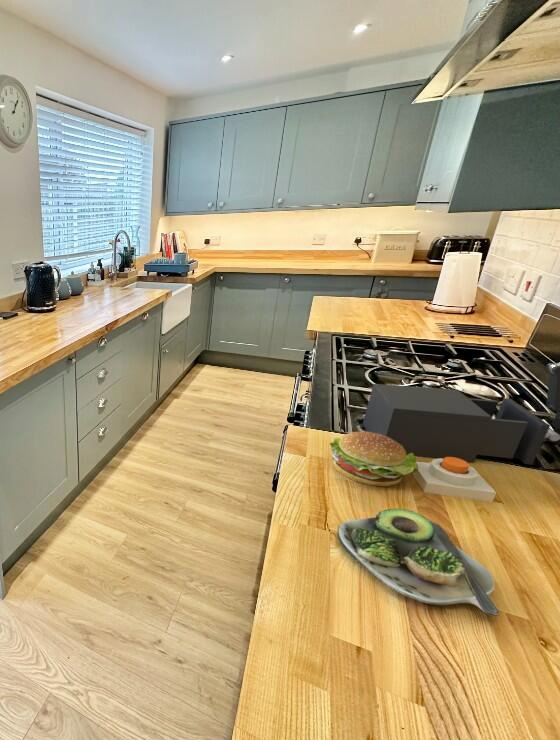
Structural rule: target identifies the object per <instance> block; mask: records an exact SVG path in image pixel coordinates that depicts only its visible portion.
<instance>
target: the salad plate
mask: <svg viewBox="0 0 560 740" xmlns="http://www.w3.org/2000/svg"><path fill="white" fill-rule="evenodd" d="M337 538H338V540H339V543H340V544H341V546H342V547H343V548H344V550H345V551H346V552H347V553H348V555H350V556H351V557H352V558H353V559H355V560H357V561H358V562H359V563H360V564H361V565H362V566H363V567H364V568H365V569H366V570H368V572H369V573H371V574H372V575H373V576H374V577H377V579H378V580H380V581H382V582H383V583H384V584H385V585H386V586H388V587H389V588H391V590H393V591H395V592H397V593H399V594H401V595H403V596H405V597H407V598H409V599H412V600H415V601H417V602H420V603H424V604H426V605H432V606H439V607H441V606H448V605H449V606H450V605H455V604H470V605H474V606H476V607H477V608H479V609H480V610H481V611H482V612H484V613H486V614H487V615H491V616H495V617H498V616H499V614H500V612H499V610H498V608H497V607H496V605H495V604H494V602H493V601H492V600H491V597H489V596H490V595H491V594H493V592H494V591H495V580H494V577H493V575H492V573H491V571H489V570H488V569H487V568H486V567H485V566H484V565H483V564H481V563H480V562H479V561H477V560H476V559H475V558H473V557H471V556H470V555H468V554H467V553H466V552H465V551H463V550H462V549H460V548H459V547H458V546H456V545H455V544H454V543H453V542H452V540H451V539H450V535H448V533H447V532H446V530H445V529H443V527H441V526H440V524H438V523H436V522H434V521H432V520H429V519H428V518H427V517H426V516H424V515H422V514H420V513H418V512H416V511H413V510H410V509H409V510H408V509H406V508H405V509H404V508H388V509H384V510H380V511H379V512H378V513H377V514H375V517H368V518H359V519H349V520H345V521H343V522H341V523H340V524H339V526H338V527H337ZM433 604H434V605H433Z"/></svg>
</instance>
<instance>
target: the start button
mask: <svg viewBox="0 0 560 740" xmlns="http://www.w3.org/2000/svg"><path fill="white" fill-rule="evenodd" d="M469 466H470V463H467V462H466V461H464V460H462V459H459V458H455V457H445V458H444V459H443V462H442V464H441V467H442V468H443V469H445V470H447V471H449V472H452V473H456V474H466V473H467V470H468V468H469Z"/></svg>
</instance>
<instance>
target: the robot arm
mask: <svg viewBox="0 0 560 740" xmlns="http://www.w3.org/2000/svg"><path fill="white" fill-rule="evenodd" d="M545 368H546V370H547V372H548V374H549V376H548V388H547V395H546V396H547V397H546V406H547V408H549V409H551V410H552V411H554V412H556V414H555V416H554V418H553V420H552V421H551V426H552V427H554V428H553V429H552V430H553V431H554V432H556V433H557V434H559V435H560V362H558V363H553V362H549V363H547V364H546V365H545ZM552 442H553V443H555V444H556V445H557V446H560V439H559V440H557V441H552Z"/></svg>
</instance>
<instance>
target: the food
mask: <svg viewBox="0 0 560 740" xmlns="http://www.w3.org/2000/svg"><path fill="white" fill-rule="evenodd" d="M329 445H330V448H329V451H330V453H332V454H331V455H332V464H333V467H334V468H335V469H336V471H338V472H339V473H340V474H342V475H343V476H345V477H347V478H349V479H351V480H353V481H355V482H358V483H361V484H365V485H369V486H375V487H377V486H378V487H391V486H396V485H398V484H400V483H401V481H402V480H403V476H406V475H408V474H411V473H413V472H416V471H418V466H417V462H418V461H417V457H416V456H414V455H413V453H410V454H408V455H406V451H405V449H404V448H403V446H402V445H400V444H399V443H397V442H396V441H395V440H393V439H391V438H389V437H386V436H384V435H381V434H377V433H372V432H368V431H363V430H362V431H351V432H349V433H346V434H344V435H342V436H341V438H340V437H334V438H333V441H332V442H329Z"/></svg>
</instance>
